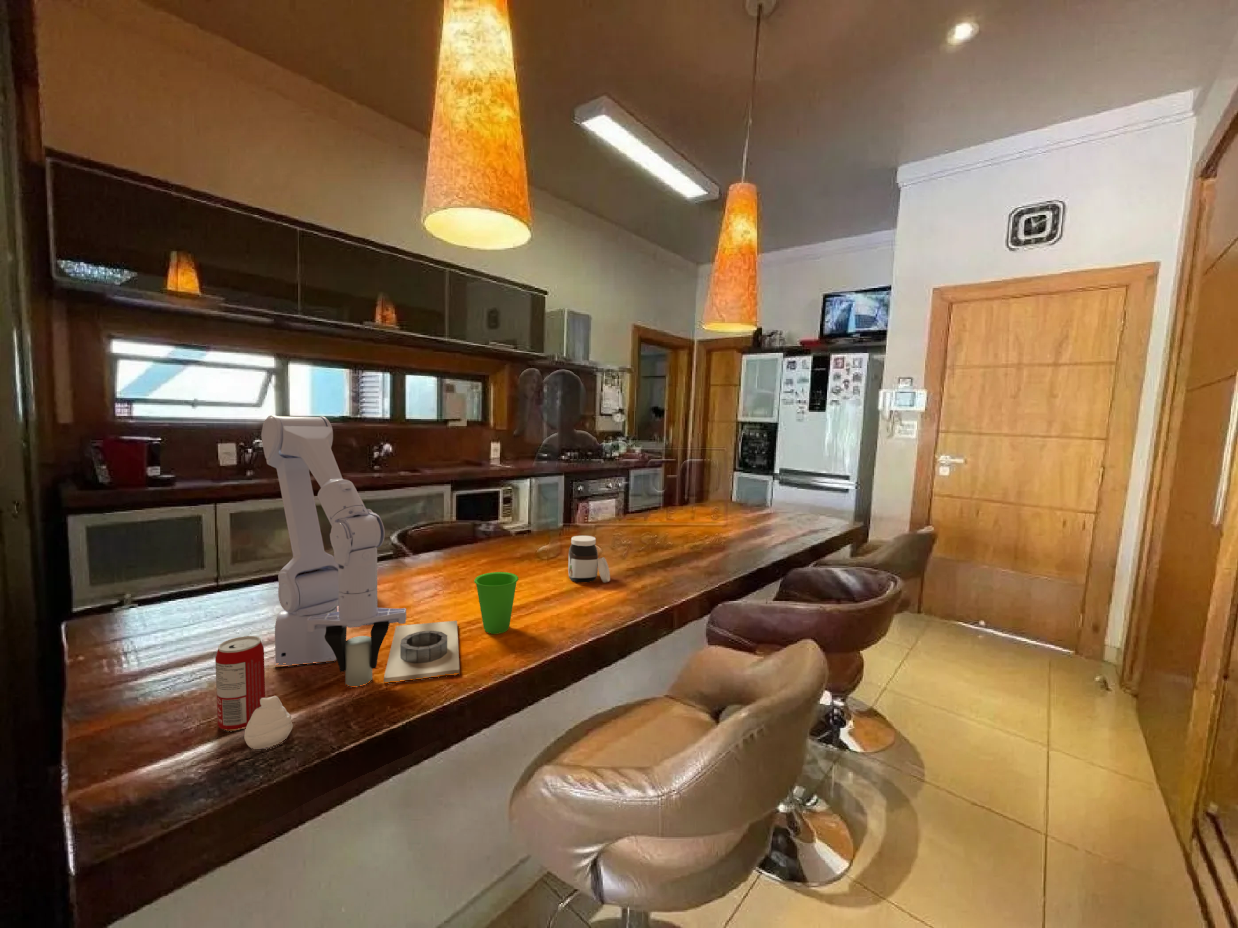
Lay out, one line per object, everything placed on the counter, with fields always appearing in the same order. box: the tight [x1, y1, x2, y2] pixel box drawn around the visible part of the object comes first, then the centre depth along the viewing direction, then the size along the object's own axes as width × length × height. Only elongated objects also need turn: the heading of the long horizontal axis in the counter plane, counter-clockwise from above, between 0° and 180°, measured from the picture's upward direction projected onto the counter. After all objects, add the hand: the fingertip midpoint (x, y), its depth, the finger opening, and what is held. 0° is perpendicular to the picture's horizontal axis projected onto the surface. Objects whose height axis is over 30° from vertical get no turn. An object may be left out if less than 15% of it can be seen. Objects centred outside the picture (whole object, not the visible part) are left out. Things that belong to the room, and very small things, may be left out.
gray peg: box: [345, 635, 373, 686], centre depth 85 cm, size 4×4×7 cm
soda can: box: [214, 635, 266, 730], centre depth 73 cm, size 6×6×12 cm
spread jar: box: [567, 535, 611, 583], centre depth 143 cm, size 12×11×12 cm
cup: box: [473, 571, 519, 635], centre depth 108 cm, size 9×9×11 cm
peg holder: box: [383, 620, 460, 683], centre depth 97 cm, size 12×22×4 cm, turn 19°
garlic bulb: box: [243, 695, 294, 749], centre depth 70 cm, size 6×6×5 cm
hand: (358, 667), depth 86 cm, fingers closed on gray peg, 4 cm apart
